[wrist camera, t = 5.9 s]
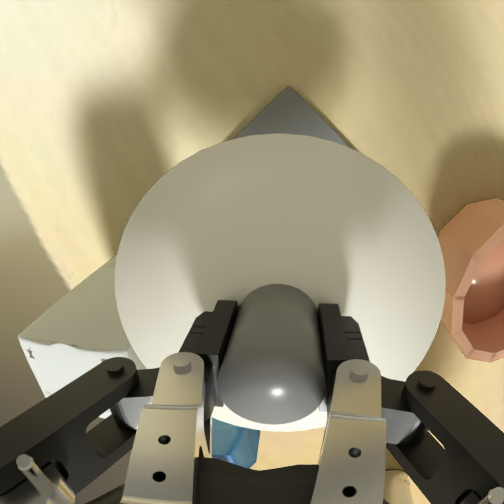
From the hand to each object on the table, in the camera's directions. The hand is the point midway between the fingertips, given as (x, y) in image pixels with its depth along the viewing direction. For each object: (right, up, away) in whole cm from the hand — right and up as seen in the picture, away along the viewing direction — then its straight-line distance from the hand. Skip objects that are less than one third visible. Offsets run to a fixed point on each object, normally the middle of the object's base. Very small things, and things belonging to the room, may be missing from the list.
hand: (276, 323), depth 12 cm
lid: (0, +1, +2) cm, 2 cm away
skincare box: (-9, 0, +17) cm, 19 cm away
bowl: (+21, +1, +12) cm, 24 cm away
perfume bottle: (-3, -14, +22) cm, 26 cm away
